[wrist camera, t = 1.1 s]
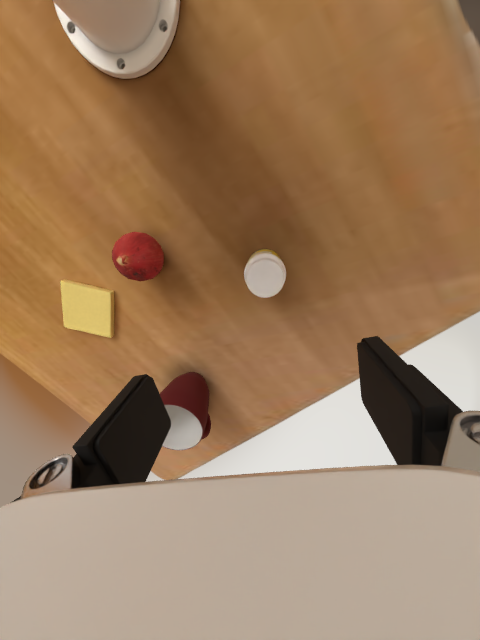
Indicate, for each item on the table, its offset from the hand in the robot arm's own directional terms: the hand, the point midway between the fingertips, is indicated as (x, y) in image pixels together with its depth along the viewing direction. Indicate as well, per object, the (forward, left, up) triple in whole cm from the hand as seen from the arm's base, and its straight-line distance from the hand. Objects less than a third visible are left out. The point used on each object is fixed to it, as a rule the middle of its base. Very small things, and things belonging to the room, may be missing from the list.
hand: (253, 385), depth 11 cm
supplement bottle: (0, +2, -24) cm, 24 cm away
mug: (+2, -21, -24) cm, 32 cm away
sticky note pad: (-19, -18, -24) cm, 36 cm away
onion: (-14, -5, -24) cm, 28 cm away
